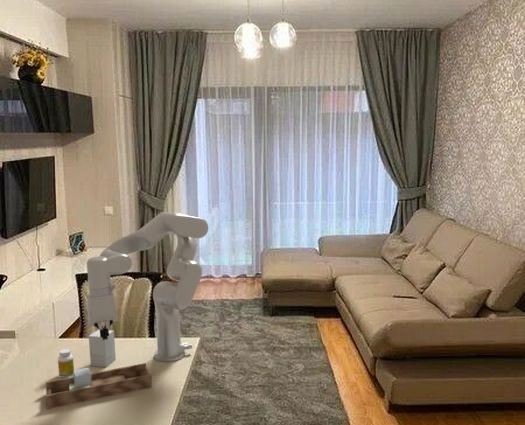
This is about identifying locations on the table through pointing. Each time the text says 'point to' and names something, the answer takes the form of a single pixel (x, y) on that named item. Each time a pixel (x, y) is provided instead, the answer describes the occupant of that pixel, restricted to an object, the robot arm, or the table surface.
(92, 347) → the supplement box
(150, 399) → the table surface
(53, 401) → the box
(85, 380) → the block
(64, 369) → the supplement bottle
